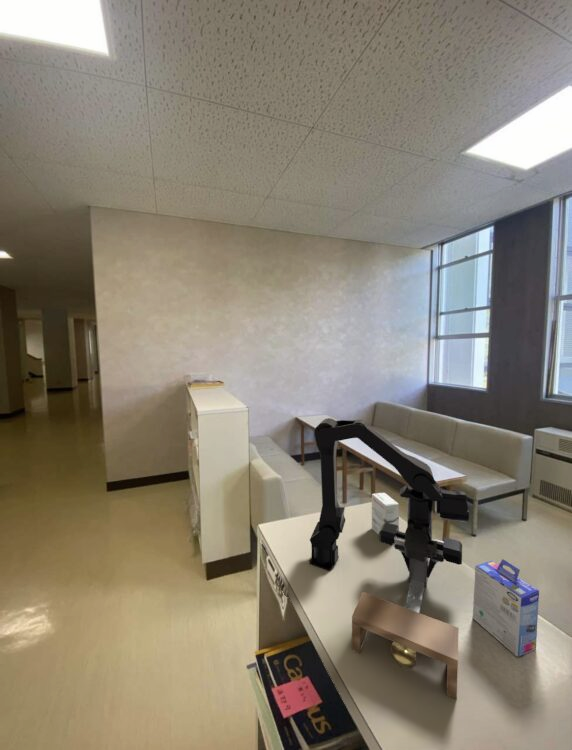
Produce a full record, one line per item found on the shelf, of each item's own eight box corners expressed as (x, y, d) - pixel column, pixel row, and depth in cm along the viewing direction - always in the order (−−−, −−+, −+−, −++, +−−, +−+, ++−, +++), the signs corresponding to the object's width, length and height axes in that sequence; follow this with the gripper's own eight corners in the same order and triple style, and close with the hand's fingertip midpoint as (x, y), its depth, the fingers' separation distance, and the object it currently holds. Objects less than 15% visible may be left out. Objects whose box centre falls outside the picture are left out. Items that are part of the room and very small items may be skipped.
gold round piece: (389, 662, 59) (389, 654, 59) (393, 642, 63) (393, 636, 62) (414, 673, 57) (414, 666, 56) (417, 653, 60) (417, 646, 60)
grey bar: (398, 625, 66) (399, 594, 66) (411, 572, 82) (411, 547, 81) (419, 633, 64) (419, 601, 64) (428, 578, 80) (428, 552, 79)
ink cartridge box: (538, 650, 60) (541, 579, 59) (519, 660, 59) (522, 587, 57) (489, 610, 70) (491, 548, 69) (471, 618, 68) (473, 554, 67)
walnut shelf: (352, 649, 61) (352, 616, 61) (362, 622, 67) (362, 591, 67) (456, 699, 52) (457, 660, 52) (457, 662, 58) (458, 627, 58)
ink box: (399, 540, 96) (400, 503, 95) (385, 543, 94) (385, 505, 94) (384, 525, 104) (384, 491, 103) (370, 528, 103) (371, 493, 102)
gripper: (373, 520, 75) (373, 581, 77) (462, 542, 66) (460, 611, 67) (384, 500, 85) (383, 555, 86) (462, 517, 76) (461, 578, 77)
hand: (418, 573), depth 79 cm, fingers closed on grey bar, 4 cm apart
